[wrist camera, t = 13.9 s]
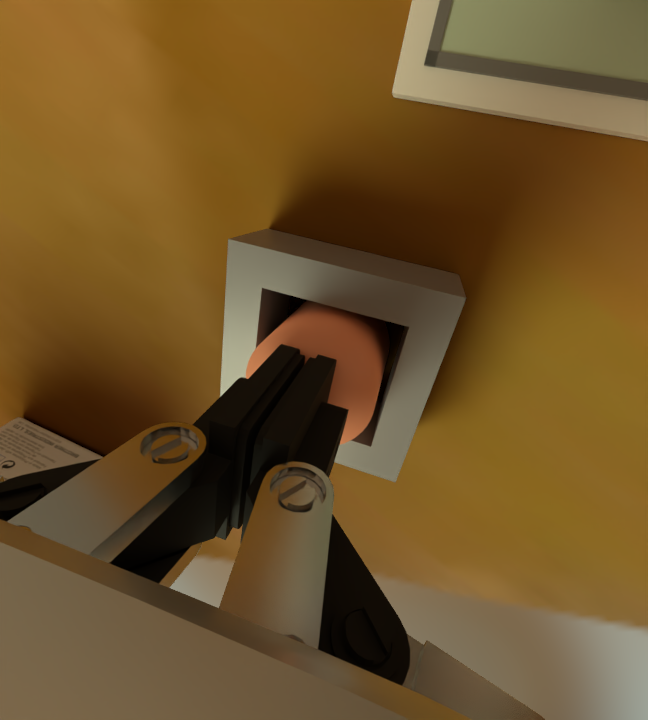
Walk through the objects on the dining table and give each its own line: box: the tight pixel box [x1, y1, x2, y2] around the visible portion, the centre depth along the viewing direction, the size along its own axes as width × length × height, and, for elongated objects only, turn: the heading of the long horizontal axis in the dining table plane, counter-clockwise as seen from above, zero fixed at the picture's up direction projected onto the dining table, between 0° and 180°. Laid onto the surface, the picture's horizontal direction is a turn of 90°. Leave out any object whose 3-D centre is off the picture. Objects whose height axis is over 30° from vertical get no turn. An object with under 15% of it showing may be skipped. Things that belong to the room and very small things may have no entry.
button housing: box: [220, 229, 466, 482], centre depth 13 cm, size 7×7×3 cm
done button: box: [246, 300, 390, 445], centre depth 12 cm, size 4×4×4 cm
